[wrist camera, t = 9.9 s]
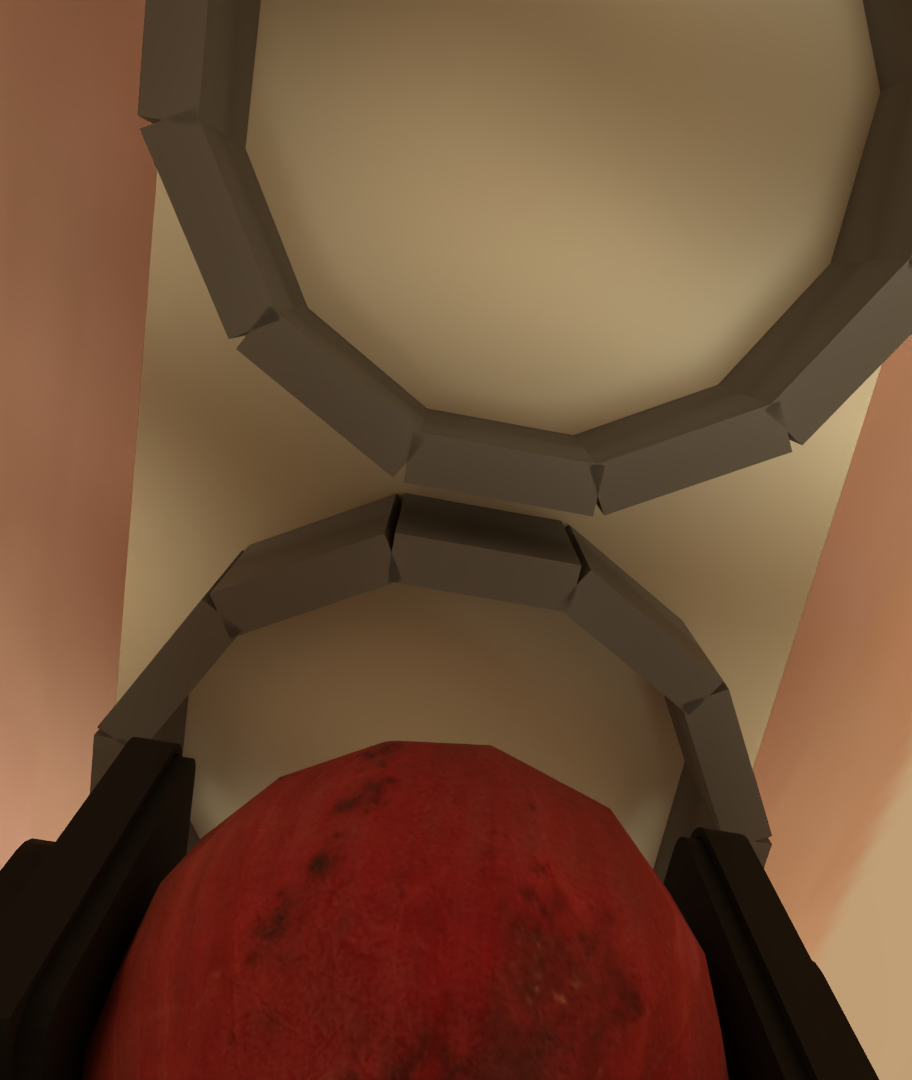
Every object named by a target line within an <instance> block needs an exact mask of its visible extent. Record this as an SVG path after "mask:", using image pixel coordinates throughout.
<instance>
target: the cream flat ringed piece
mask: <svg viewBox="0 0 912 1080" xmlns="http://www.w3.org/2000/svg"><path fill="white" fill-rule="evenodd" d="M138 116H140V117H142V118H144V119H146V120H147V121H149V122H151V123H153V124H151V125H149V126H146V127H144V128H141V129H140V130H141V132H142V135H143V137H144V139H145V142H146V144H147V147H148V149H149V151H150V154H151V156H152V158H153V161H154V163H155V166H156V168H157V181H156V193H155V206H154V219H153V232H152V245H151V258H150V271H149V284H148V297H147V310H146V322H145V335H144V348H143V361H142V374H141V387H140V400H139V413H138V426H137V439H136V451H135V464H134V477H133V490H132V503H131V516H130V529H129V542H128V555H127V568H126V580H125V593H124V606H123V619H122V632H121V645H120V658H119V671H118V684H117V697H116V705H115V706H114V707H113V709H112V710H111V711H110V712H109V713H108V715H107V716H106V717H105V718H104V720H103V721H102V722H101V723H100V725H99V726H98V728H99V730H98V731H97V732H96V734H95V735H94V744H93V758H92V772H91V787H90V794H91V792H92V791H93V789H94V788H95V787H96V785H97V784H98V782H99V781H100V780H101V778H102V777H103V775H104V774H105V773H106V771H107V770H108V769H109V767H110V766H111V764H112V763H113V762H114V760H115V759H116V757H117V756H118V755H119V753H120V752H121V750H122V749H123V748H124V746H125V745H126V743H127V742H128V741H129V740H130V739H131V738H132V737H141V738H147V739H153V740H160V741H166V742H172V743H178V744H180V745H181V748H182V757H187V758H193V759H195V762H196V770H195V780H194V789H193V798H192V808H191V817H190V826H189V836H188V845H187V853H188V852H189V851H190V850H191V849H192V848H193V847H194V846H195V844H196V843H197V842H198V841H199V840H200V839H201V838H202V837H203V836H205V835H206V834H207V833H209V832H210V831H211V830H212V829H214V828H215V827H216V826H218V825H219V824H220V823H221V822H223V821H224V820H225V819H227V818H228V817H229V816H230V815H232V814H233V813H234V812H235V811H237V810H238V809H239V808H241V807H242V806H243V805H244V804H246V803H247V802H248V801H250V800H251V799H252V798H253V797H255V796H256V795H257V794H259V793H260V792H261V791H262V790H264V789H265V788H266V787H268V786H269V785H270V784H271V783H273V782H274V781H275V780H277V779H278V778H279V777H281V776H284V775H287V774H290V773H293V772H296V771H299V770H302V769H305V768H308V767H311V766H314V765H317V764H320V763H323V762H326V761H329V760H332V759H335V758H338V757H341V756H344V755H347V754H349V753H352V752H355V751H358V750H361V749H364V748H367V747H370V746H373V745H376V744H379V743H382V742H386V741H415V742H436V743H456V744H477V745H491V746H493V747H495V748H497V749H499V750H501V751H503V752H505V753H507V754H509V755H511V756H513V757H515V758H516V759H518V760H520V761H522V762H524V763H526V764H528V765H530V766H531V767H533V768H535V769H537V770H539V771H541V772H543V773H545V774H546V775H548V776H550V777H552V778H554V779H556V780H558V781H560V782H561V783H563V784H565V785H567V786H569V787H571V788H573V789H575V790H576V791H578V792H580V793H582V794H584V795H586V796H588V797H590V798H591V799H593V800H595V801H597V802H599V803H601V804H603V805H605V806H606V807H608V808H610V809H611V810H612V812H613V813H614V814H615V816H616V817H617V819H618V820H619V822H620V823H621V824H622V826H623V827H624V829H625V830H626V832H627V833H628V834H629V836H630V837H631V839H632V840H633V842H634V843H635V844H636V846H637V847H638V849H639V850H640V852H641V853H642V854H643V856H644V857H645V859H646V860H647V861H648V863H649V864H650V866H651V867H652V869H653V870H654V871H655V873H656V874H657V876H658V877H659V879H660V880H661V881H662V883H664V880H665V876H666V873H667V870H668V866H669V863H670V860H671V856H672V853H673V850H674V846H675V844H676V841H677V840H678V839H679V838H680V837H688V838H690V836H691V834H692V832H693V831H694V830H695V829H696V828H698V827H702V828H708V829H715V830H721V831H727V832H733V833H739V834H743V835H745V836H746V837H747V839H748V840H749V842H750V844H751V845H752V847H753V849H754V851H755V853H756V855H757V857H758V859H759V861H760V863H761V865H762V866H763V868H764V866H765V863H766V860H767V857H768V854H769V851H770V848H771V845H772V844H771V842H770V840H769V839H768V837H770V836H772V834H771V831H770V828H769V824H768V821H767V817H766V814H765V811H764V807H763V804H762V800H761V797H760V793H759V790H758V787H757V783H756V780H755V776H754V773H753V767H754V764H755V760H756V757H757V754H758V751H759V748H760V745H761V742H762V739H763V735H764V732H765V729H766V726H767V723H768V720H769V717H770V713H771V710H772V707H773V704H774V701H775V698H776V695H777V691H778V688H779V685H780V682H781V679H782V676H783V673H784V670H785V666H786V663H787V660H788V657H789V654H790V651H791V648H792V644H793V641H794V638H795V635H796V632H797V629H798V626H799V622H800V619H801V616H802V613H803V610H804V607H805V604H806V600H807V597H808V594H809V591H810V588H811V585H812V582H813V579H814V575H815V572H816V569H817V566H818V563H819V560H820V557H821V553H822V550H823V547H824V544H825V541H826V538H827V535H828V531H829V528H830V525H831V522H832V519H833V516H834V513H835V510H836V506H837V503H838V500H839V497H840V494H841V491H842V488H843V484H844V481H845V478H846V475H847V472H848V469H849V466H850V462H851V459H852V456H853V453H854V450H855V447H856V444H857V441H858V437H859V434H860V431H861V428H862V425H863V422H864V419H865V415H866V412H867V409H868V406H869V403H870V400H871V397H872V393H873V390H874V387H875V384H876V381H877V378H878V375H879V372H880V368H881V365H882V363H883V362H884V361H885V360H886V359H887V358H888V357H889V356H890V355H891V354H892V353H893V352H894V351H895V350H896V349H897V348H898V347H899V346H900V345H901V344H902V343H903V342H904V341H905V340H906V339H907V338H908V337H909V336H910V335H911V334H912V0H146V5H145V19H144V33H143V47H142V61H141V76H140V90H139V104H138Z"/></svg>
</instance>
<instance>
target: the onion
mask: <svg viewBox="0 0 912 1080" xmlns="http://www.w3.org/2000/svg"><path fill="white" fill-rule="evenodd" d="M82 1080H729V1076H728V1070H727V1064H726V1058H725V1051H724V1045H723V1039H722V1033H721V1028H720V1023H719V1018H718V1013H717V1009H716V1004H715V999H714V994H713V990H712V985H711V980H710V975H709V971H708V966H707V961H706V956H705V953H704V951H703V950H702V948H701V946H700V945H699V943H698V941H697V939H696V938H695V936H694V934H693V933H692V931H691V929H690V927H689V926H688V924H687V922H686V920H685V919H684V917H683V915H682V914H681V912H680V910H679V908H678V907H677V905H676V903H675V902H674V900H673V898H672V896H671V895H670V893H669V891H668V890H667V889H666V887H665V886H664V884H663V883H662V881H661V880H660V879H659V877H658V876H657V874H656V873H655V871H654V870H653V869H652V867H651V866H650V864H649V863H648V861H647V860H646V859H645V857H644V856H643V854H642V853H641V852H640V850H639V849H638V847H637V846H636V844H635V843H634V842H633V840H632V839H631V837H630V836H629V834H628V833H627V832H626V830H625V829H624V827H623V826H622V824H621V823H620V822H619V820H618V819H617V817H616V816H615V814H614V813H613V812H612V810H611V809H610V808H608V807H606V806H605V805H603V804H601V803H599V802H597V801H595V800H593V799H591V798H590V797H588V796H586V795H584V794H582V793H580V792H578V791H576V790H575V789H573V788H571V787H569V786H567V785H565V784H563V783H561V782H560V781H558V780H556V779H554V778H552V777H550V776H548V775H546V774H545V773H543V772H541V771H539V770H537V769H535V768H533V767H531V766H530V765H528V764H526V763H524V762H522V761H520V760H518V759H516V758H515V757H513V756H511V755H509V754H507V753H505V752H503V751H501V750H499V749H497V748H495V747H493V746H491V745H477V744H456V743H436V742H415V741H386V742H382V743H379V744H376V745H373V746H370V747H367V748H364V749H361V750H358V751H355V752H352V753H349V754H347V755H344V756H341V757H338V758H335V759H332V760H329V761H326V762H323V763H320V764H317V765H314V766H311V767H308V768H305V769H302V770H299V771H296V772H293V773H290V774H287V775H284V776H281V777H279V778H278V779H277V780H275V781H274V782H273V783H271V784H270V785H269V786H268V787H266V788H265V789H264V790H262V791H261V792H260V793H259V794H257V795H256V796H255V797H253V798H252V799H251V800H250V801H248V802H247V803H246V804H244V805H243V806H242V807H241V808H239V809H238V810H237V811H235V812H234V813H233V814H232V815H230V816H229V817H228V818H227V819H225V820H224V821H223V822H221V823H220V824H219V825H218V826H216V827H215V828H214V829H212V830H211V831H210V832H209V833H207V834H206V835H205V836H203V837H202V838H201V839H200V840H199V841H198V842H197V843H196V844H195V846H194V847H193V848H192V849H191V850H190V851H189V852H188V853H187V854H186V855H185V857H184V858H183V859H182V860H181V861H180V862H179V863H178V864H177V865H176V866H175V868H174V869H173V870H172V871H171V872H170V873H169V874H168V875H167V876H166V877H165V878H164V880H163V881H162V882H161V883H160V885H159V887H158V889H157V891H156V893H155V895H154V897H153V899H152V901H151V903H150V905H149V907H148V909H147V911H146V913H145V915H144V917H143V919H142V921H141V923H140V925H139V927H138V929H137V931H136V933H135V935H134V937H133V939H132V941H131V943H130V945H129V947H128V949H127V951H126V953H125V955H124V957H123V959H122V961H121V963H120V966H119V968H118V970H117V972H116V975H115V977H114V980H113V983H112V985H111V988H110V990H109V993H108V995H107V998H106V1000H105V1003H104V1006H103V1008H102V1011H101V1013H100V1016H99V1018H98V1021H97V1023H96V1026H95V1029H94V1031H93V1034H92V1036H91V1039H90V1041H89V1044H88V1047H87V1050H86V1055H85V1062H84V1068H83V1075H82Z"/></svg>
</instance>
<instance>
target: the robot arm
mask: <svg viewBox="0 0 912 1080" xmlns="http://www.w3.org/2000/svg"><path fill="white" fill-rule="evenodd" d="M195 770H196V762H195V759H193V758H187V757H182V748H181V745H180V744H178V743H172V742H166V741H160V740H153V739H147V738H141V737H132V738H131V739H130V740H129V741H128V742H127V743H126V745H125V746H124V748H123V749H122V750H121V752H120V753H119V755H118V756H117V757H116V759H115V760H114V762H113V763H112V764H111V766H110V767H109V769H108V770H107V771H106V773H105V774H104V775H103V777H102V778H101V780H100V781H99V782H98V784H97V785H96V787H95V788H94V789H93V791H92V792H91V794H90V795H89V796H88V798H87V799H86V800H85V802H84V803H83V805H82V806H81V807H80V809H79V810H78V812H77V813H76V814H75V816H74V817H73V819H72V820H71V821H70V823H69V824H68V826H67V827H66V828H65V830H64V831H63V832H62V834H61V835H60V837H59V838H58V839H57V841H56V842H52V841H45V840H39V839H30V840H28V841H25V842H24V843H23V844H22V845H21V846H20V847H19V848H18V849H17V850H16V851H15V853H14V854H13V855H12V856H11V858H10V859H9V860H8V862H7V863H6V864H5V865H4V867H3V868H2V869H1V871H0V1080H82V1075H83V1068H84V1062H85V1055H86V1050H87V1047H88V1044H89V1041H90V1039H91V1036H92V1034H93V1031H94V1029H95V1026H96V1023H97V1021H98V1018H99V1016H100V1013H101V1011H102V1008H103V1006H104V1003H105V1000H106V998H107V995H108V993H109V990H110V988H111V985H112V983H113V980H114V977H115V975H116V972H117V970H118V968H119V966H120V963H121V961H122V959H123V957H124V955H125V953H126V951H127V949H128V947H129V945H130V943H131V941H132V939H133V937H134V935H135V933H136V931H137V929H138V927H139V925H140V923H141V921H142V919H143V917H144V915H145V913H146V911H147V909H148V907H149V905H150V903H151V901H152V899H153V897H154V895H155V893H156V891H157V889H158V887H159V885H160V883H161V882H162V881H163V880H164V878H165V877H166V876H167V875H168V874H169V873H170V872H171V871H172V870H173V869H174V868H175V866H176V865H177V864H178V863H179V862H180V861H181V860H182V859H183V858H184V857H185V855H186V854H187V845H188V836H189V826H190V817H191V808H192V798H193V789H194V780H195ZM663 884H664V886H665V887H666V889H667V890H668V891H669V893H670V895H671V896H672V898H673V900H674V902H675V903H676V905H677V907H678V908H679V910H680V912H681V914H682V915H683V917H684V919H685V920H686V922H687V924H688V926H689V927H690V929H691V931H692V933H693V934H694V936H695V938H696V939H697V941H698V943H699V945H700V946H701V948H702V950H703V951H704V953H705V956H706V961H707V966H708V971H709V975H710V980H711V985H712V990H713V994H714V999H715V1004H716V1009H717V1013H718V1018H719V1023H720V1028H721V1033H722V1039H723V1045H724V1051H725V1058H726V1064H727V1070H728V1076H729V1080H879V1079H878V1077H877V1075H876V1073H875V1071H874V1069H873V1067H872V1065H871V1063H870V1062H869V1060H868V1058H867V1056H866V1054H865V1052H864V1050H863V1048H862V1047H861V1045H860V1043H859V1041H858V1039H857V1037H856V1035H855V1034H854V1031H853V1030H852V1028H851V1026H850V1024H849V1022H848V1020H847V1018H846V1016H845V1014H844V1013H843V1011H842V1009H841V1007H840V1005H839V1003H838V1001H837V999H836V997H835V996H834V994H833V992H832V990H831V988H830V986H829V984H828V982H827V981H826V979H825V977H824V975H823V973H822V972H821V970H820V969H819V967H818V966H817V965H816V963H815V962H813V961H812V960H811V958H810V956H809V954H808V952H807V950H806V948H805V947H804V945H803V943H802V941H801V939H800V937H799V935H798V933H797V931H796V929H795V927H794V926H793V924H792V922H791V920H790V918H789V916H788V914H787V912H786V910H785V908H784V907H783V905H782V903H781V901H780V899H779V897H778V895H777V893H776V891H775V889H774V887H773V886H772V884H771V882H770V880H769V878H768V876H767V874H766V872H765V870H764V868H763V866H762V865H761V863H760V861H759V859H758V857H757V855H756V853H755V851H754V849H753V847H752V845H751V844H750V842H749V840H748V839H747V837H746V836H745V835H743V834H739V833H733V832H727V831H721V830H715V829H708V828H702V827H698V828H696V829H695V830H694V831H693V832H692V834H691V836H690V838H688V837H680V838H679V839H678V840H677V841H676V844H675V846H674V850H673V853H672V856H671V860H670V863H669V866H668V870H667V873H666V876H665V880H664V883H663Z"/></svg>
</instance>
